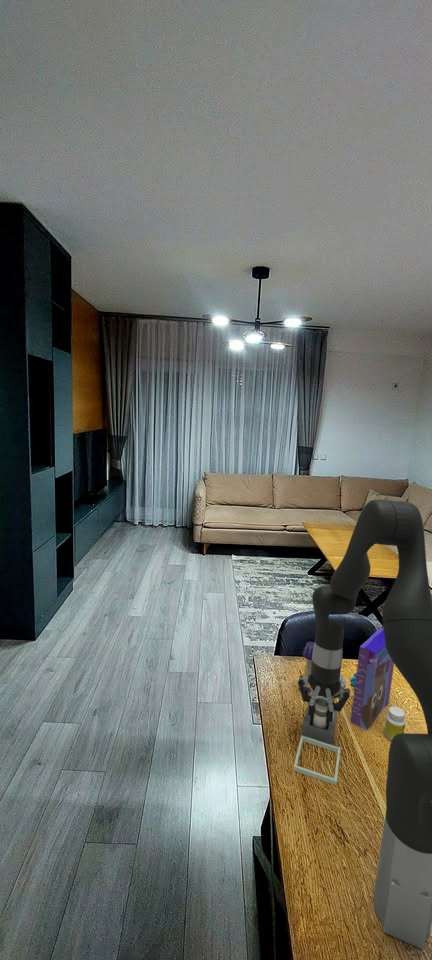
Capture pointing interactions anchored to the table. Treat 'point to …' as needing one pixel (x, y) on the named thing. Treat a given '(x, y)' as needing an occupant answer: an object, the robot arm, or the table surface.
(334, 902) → the table surface
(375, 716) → the cereal box
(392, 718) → the supplement bottle
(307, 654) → the toy lamp
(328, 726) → the fuse block
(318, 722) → the cylinder
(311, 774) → the pale green flat frame
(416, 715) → the table surface
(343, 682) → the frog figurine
